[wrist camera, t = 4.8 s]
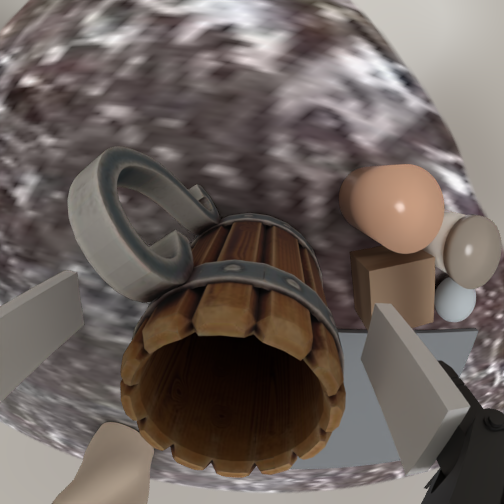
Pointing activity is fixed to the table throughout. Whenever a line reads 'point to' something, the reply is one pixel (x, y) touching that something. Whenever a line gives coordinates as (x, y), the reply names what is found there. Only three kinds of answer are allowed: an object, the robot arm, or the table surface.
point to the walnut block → (394, 283)
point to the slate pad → (367, 406)
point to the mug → (214, 323)
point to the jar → (466, 248)
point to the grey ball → (454, 301)
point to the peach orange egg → (393, 205)
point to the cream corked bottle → (112, 469)
